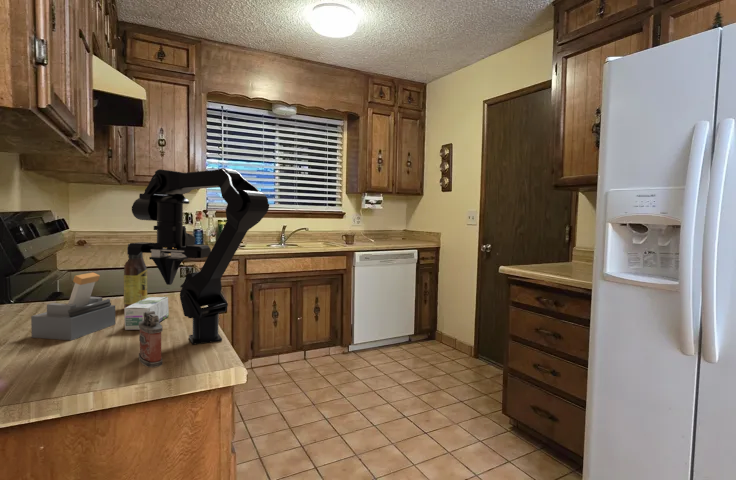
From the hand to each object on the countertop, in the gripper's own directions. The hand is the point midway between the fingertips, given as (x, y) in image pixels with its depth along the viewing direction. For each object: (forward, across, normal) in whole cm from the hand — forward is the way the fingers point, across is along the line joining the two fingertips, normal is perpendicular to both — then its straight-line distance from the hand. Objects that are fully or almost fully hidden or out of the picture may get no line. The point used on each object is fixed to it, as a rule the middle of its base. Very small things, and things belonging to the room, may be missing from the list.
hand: (169, 284), depth 101 cm
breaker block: (+12, +22, +3) cm, 25 cm away
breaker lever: (+7, +22, +3) cm, 23 cm away
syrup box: (+9, +11, -13) cm, 20 cm away
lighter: (+12, -8, +19) cm, 24 cm away
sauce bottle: (+12, +23, -20) cm, 33 cm away
